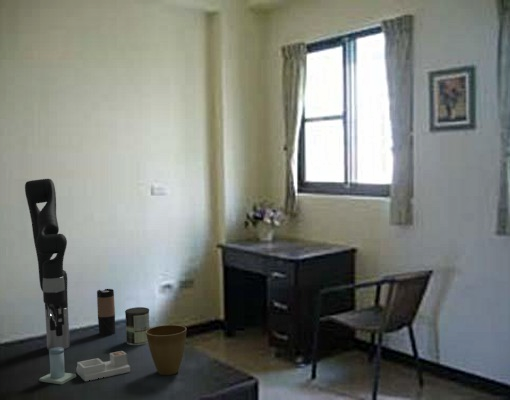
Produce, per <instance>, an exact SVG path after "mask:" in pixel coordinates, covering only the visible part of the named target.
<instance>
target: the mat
mask: <svg viewBox="0 0 510 400" xmlns="http://www.w3.org/2000/svg"><path fill="white" fill-rule="evenodd" d="M75 378H77V373H70V372H65V376H64V377H62V378H58V379H53V378H51V376H50V373H47V374H46V375H44V376H42V377H40V378H39V379H38V380H39V382H42V383H43V382H44V383H50V384H55V385H64V384H65V383H67V382H69V381H71V380H73V379H75Z"/></svg>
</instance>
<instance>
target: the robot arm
mask: <svg viewBox="0 0 510 400" xmlns="http://www.w3.org/2000/svg"><path fill="white" fill-rule="evenodd" d="M55 186H56V185H55V183H54V181H53V180H52V179H51V178H43V179H35V180H34V179H32V180H28V181H26V182H25V184H24V191H25V197H26V202H27V206H28V211H29V215H30V220H31V222H30V223H31V230H32V236H33V243H34V248H35V252H36V257H37V264H38V265H37V266H38V278H39V287H40V290H41V292H42V295H43V297H42V299H43V304H44V314H45V315H44V316H45V330H46V331H45V334H46V349H47V350H48V351H49V349H51V348H55V347H62V348H64V350H66V349H68V348H70V345H71V344H70V324H69V308H68V307H69V303H68V301H69V300H68V299H69V298H68V274H67V271H66V270H65V269H64V257H65V253H66V249H67V244H68V240H67V237H66V236H65V235H64V234H63V233H59V232H60V230H59V229H60V227H59V223H58V217H57V195H56V194H57V192H56V187H55ZM43 203H45V205H44V206H43V207H42V209H39V207H38V205H37V204H43ZM53 255H55V256H54V258H53Z"/></svg>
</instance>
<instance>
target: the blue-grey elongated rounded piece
mask: <svg viewBox="0 0 510 400" xmlns="http://www.w3.org/2000/svg"><path fill="white" fill-rule="evenodd" d="M48 354H49V357H48V358H49V372H50V373H49V374H50V376H51V378H53V379H58V378H62V377H64V376H65V373H66V372H65V371H66V370H65V349H64V348H62V347H55V348H51V349H49V350H48Z"/></svg>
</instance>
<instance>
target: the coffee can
mask: <svg viewBox="0 0 510 400" xmlns="http://www.w3.org/2000/svg"><path fill="white" fill-rule="evenodd" d="M124 313H125V330H126V331H125V334H126V344H127V345H129V346H143V345H147V344H148V340H147V335H146V331H147V330H148V329H150V309H149V307H146V306H145V307H141V306H139V307H138V306H136V307H130V308H128V309H126V310H125V311H124Z"/></svg>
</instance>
